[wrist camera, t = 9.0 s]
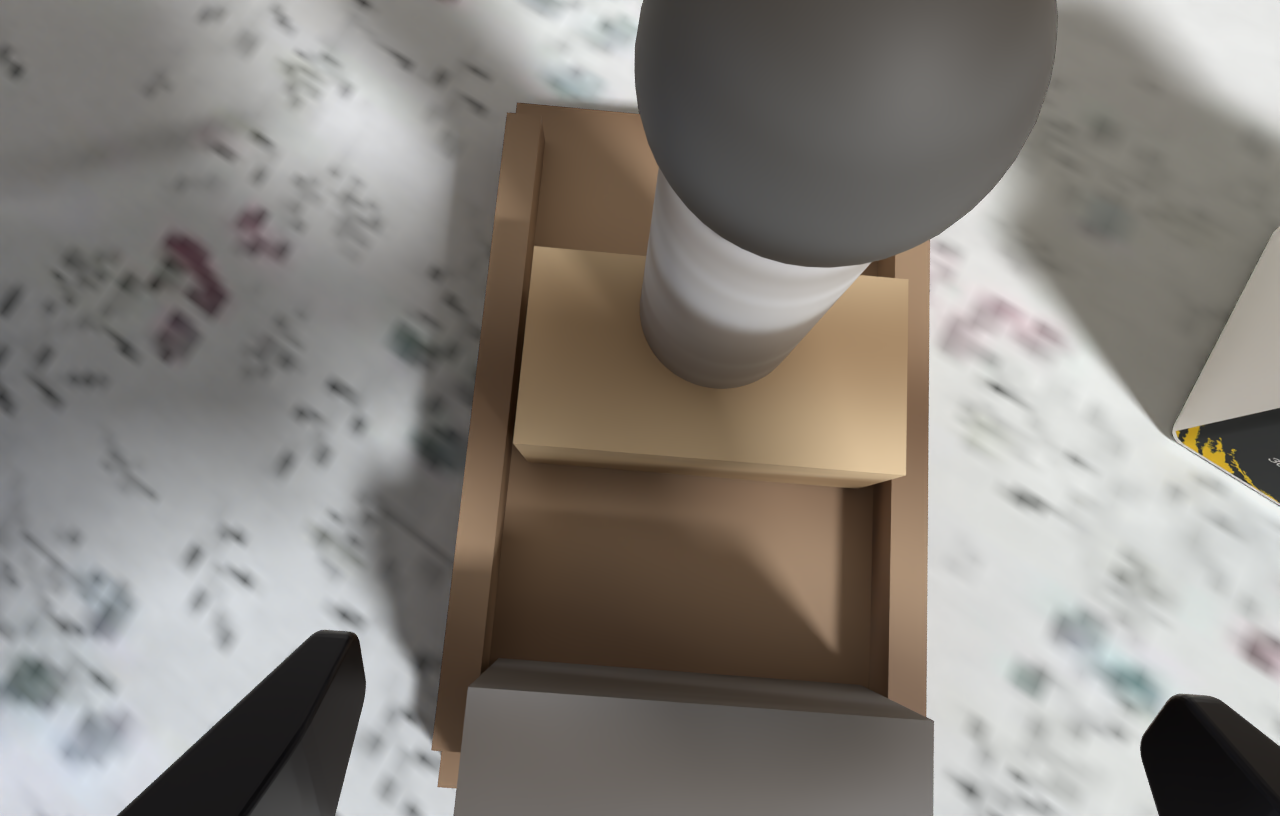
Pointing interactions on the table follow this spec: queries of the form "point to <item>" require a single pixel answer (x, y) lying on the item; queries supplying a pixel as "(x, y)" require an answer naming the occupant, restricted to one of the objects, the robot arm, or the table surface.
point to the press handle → (777, 235)
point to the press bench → (671, 574)
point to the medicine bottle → (1242, 387)
